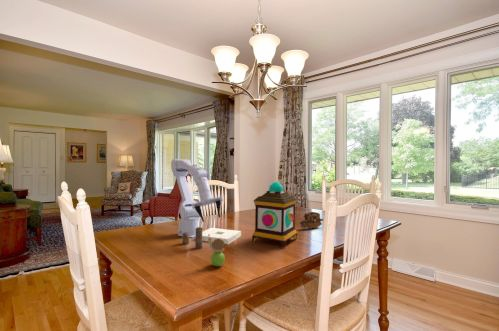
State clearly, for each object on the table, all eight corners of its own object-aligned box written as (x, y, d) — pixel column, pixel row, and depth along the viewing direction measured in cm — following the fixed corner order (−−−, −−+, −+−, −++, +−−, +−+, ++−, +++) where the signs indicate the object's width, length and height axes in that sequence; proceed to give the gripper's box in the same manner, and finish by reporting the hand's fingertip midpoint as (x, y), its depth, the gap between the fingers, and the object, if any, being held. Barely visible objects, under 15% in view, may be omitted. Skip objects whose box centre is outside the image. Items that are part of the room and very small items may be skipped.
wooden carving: (304, 231, 152) (304, 213, 152) (299, 229, 156) (299, 212, 156) (324, 227, 160) (325, 211, 160) (319, 226, 164) (319, 210, 164)
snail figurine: (208, 263, 102) (208, 232, 101) (224, 263, 102) (225, 232, 102) (207, 268, 96) (207, 236, 96) (224, 268, 97) (225, 236, 97)
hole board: (195, 239, 131) (195, 234, 131) (211, 232, 146) (211, 227, 146) (228, 244, 125) (228, 239, 125) (241, 235, 140) (241, 231, 140)
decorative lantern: (266, 233, 146) (267, 179, 145) (300, 239, 136) (301, 181, 136) (248, 242, 129) (249, 181, 128) (285, 249, 119) (287, 183, 118)
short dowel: (181, 244, 124) (181, 233, 124) (184, 242, 127) (185, 232, 127) (186, 244, 123) (186, 234, 123) (190, 243, 126) (190, 232, 126)
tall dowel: (194, 248, 118) (194, 228, 118) (197, 246, 121) (197, 227, 121) (199, 249, 117) (200, 229, 117) (203, 247, 120) (203, 227, 120)
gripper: (188, 193, 122) (194, 221, 117) (219, 185, 125) (226, 212, 119) (190, 198, 128) (196, 225, 123) (219, 190, 131) (226, 216, 126)
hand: (211, 219), depth 122 cm, fingers open, 7 cm apart
